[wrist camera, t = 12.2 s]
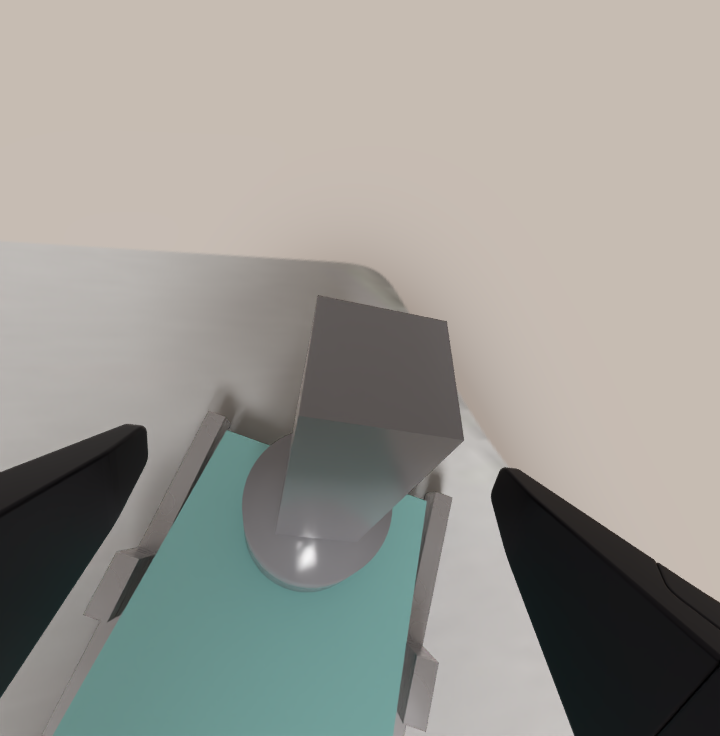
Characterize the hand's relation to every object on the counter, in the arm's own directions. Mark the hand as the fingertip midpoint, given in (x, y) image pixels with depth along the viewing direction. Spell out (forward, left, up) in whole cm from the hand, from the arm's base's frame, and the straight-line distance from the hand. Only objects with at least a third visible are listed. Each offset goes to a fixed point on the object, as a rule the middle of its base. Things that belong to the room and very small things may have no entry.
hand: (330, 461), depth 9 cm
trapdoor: (-7, -2, -12) cm, 13 cm away
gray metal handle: (-1, -1, -11) cm, 11 cm away
